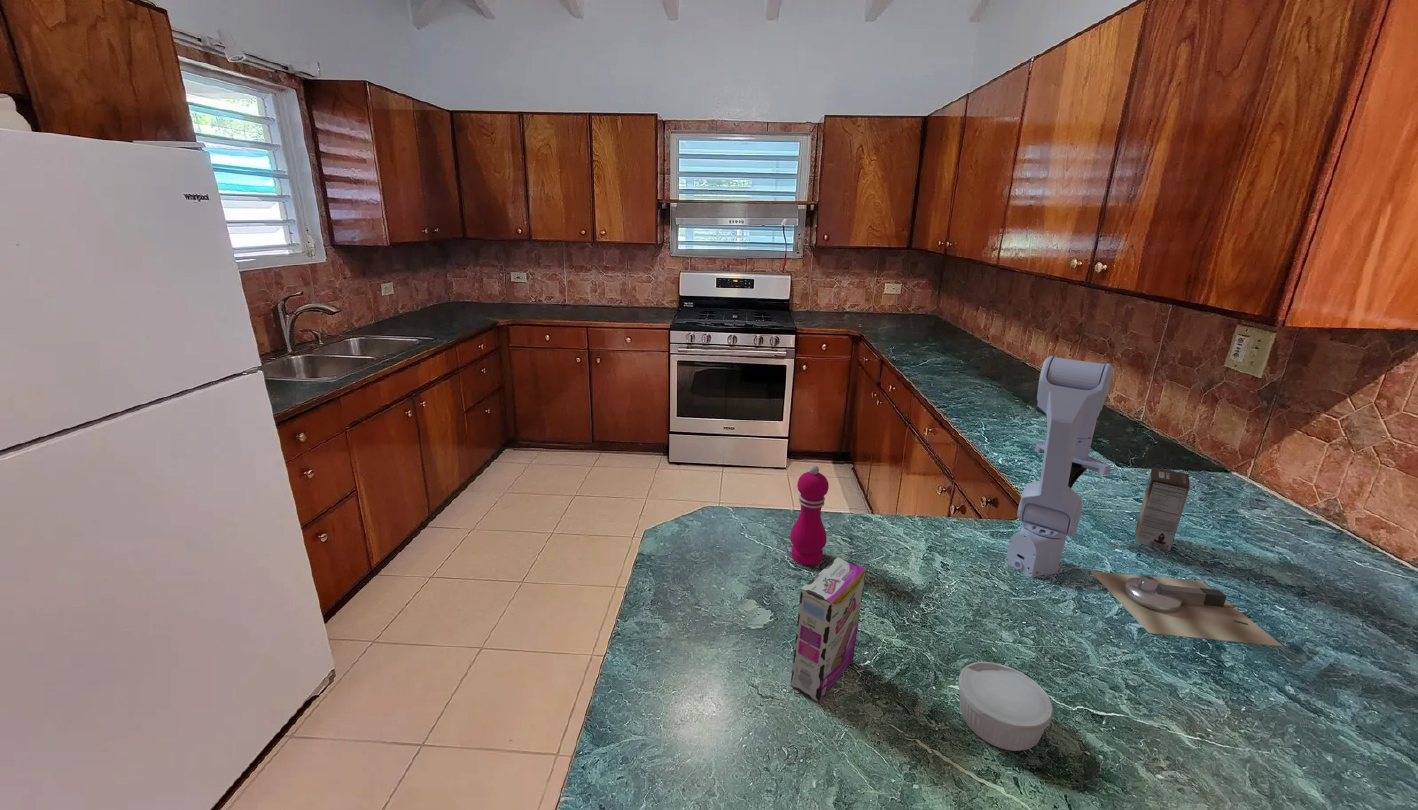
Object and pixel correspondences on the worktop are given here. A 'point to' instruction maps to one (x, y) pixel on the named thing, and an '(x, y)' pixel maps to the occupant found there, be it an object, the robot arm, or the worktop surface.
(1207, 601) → the dial
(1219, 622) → the dial board
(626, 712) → the worktop surface
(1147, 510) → the coffee box
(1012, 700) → the ramekin
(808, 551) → the pepper mill
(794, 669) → the candy bar box
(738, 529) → the worktop surface
